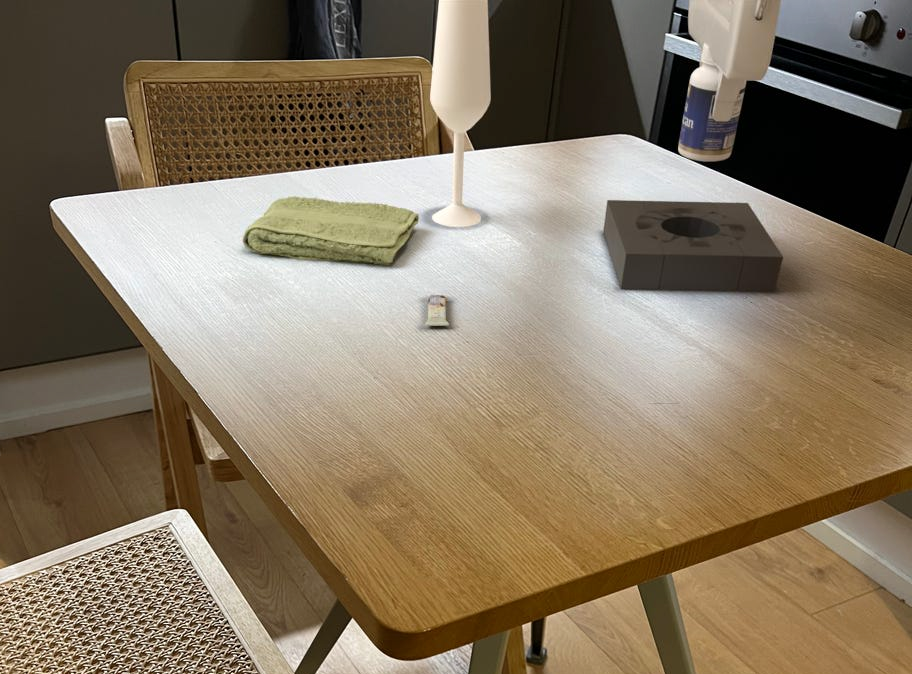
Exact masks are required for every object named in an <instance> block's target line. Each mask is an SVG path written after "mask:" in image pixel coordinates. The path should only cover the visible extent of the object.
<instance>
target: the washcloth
mask: <svg viewBox="0 0 912 674" xmlns="http://www.w3.org/2000/svg"><path fill="white" fill-rule="evenodd" d="M419 220H420V217H419V213H415V212H414V211H413V210H410V209H408V208H404V207H398V206H394V205H388V204H387V203H386V204H383V203H376V202H355V201H351V202H350V201H347V200H346V201H336V200H335V201H333V200H328V199H323V198H322V199H321V198H317V197H305V196H303V197H300V196H297V195H296V196H295V195H294V196H288V197H282V198H278V199H276V200H275V201H273V202H272V203H271V204H270V205H269V207H268V208H267V209H266V211H265V212H264V213H263V215H262V216H261V217H259V218H257V219H256V220H255V221H253V223H251V224H250V225H249V226H247V228H246V229H245V230H244V234H243V235H242V243H243V246H244V247H245V248H246V249H247V250H248V251H250V252H253V253H255V254H258V255H262V254H263V255H273V256H281V257H287V258H289V259H297V260H306V261H330V262H345V263H363V264H364V263H365V264H370V263H371V264H372V263H373V264H374V265H380V266H384V265H385V266H390V265H392V264H391V263H393V262H394V258H395V256H396V254H397V252H398V251H399V250H400V249H401V248H402V247H403V246H404V245H405V244H406V242H407V241H408V239H409V238H410V235H411V233H412V231H413V229H415V228H414V227H415V226H416V225H418V223H419Z"/></svg>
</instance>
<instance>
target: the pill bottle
mask: <svg viewBox="0 0 912 674" xmlns="http://www.w3.org/2000/svg"><path fill="white" fill-rule="evenodd" d="M701 61H702V62H703V64H702V67H700V66H699V67H697V68H696V69H694V70H693V72H692V73H691V75H690V78H689V83H688V89H687V94H686V99H685V106H684V111H683V116H682V121H681V128H680V134H679V140H678V146H677V147H678V148H677V150H678V153H679V155H681V156H682V157H684V158H687V159H688V160H693V161H697V162H720V161H725V160H726V159H728V158H730V156H731V155H732V151H733V148H734V143H735V139H736V134H737V129H738V124H739V119H740V114H741V111H742V105H743V100H744V95H745V91H746V85H747V81H744V82H743V85H742V88H741V90H740V92H739V94H738V96H737V99H736V101H735V103H734V108H733V113H732V117H731V119H730V120H729V121H715V120H714V119H713V118H712V116H711V113H710V112H711V108H712V101H713V97H715V96H716V92H717V88H718V84H719V80H718V77H719V72H720V70H719V69H718V68H717V66H716V65H715V64H714V63H713V62H712V60H711V59H710V58H709V56H708V46H707V45H706V44H705V43H704V45H703V50H702V55H701Z"/></svg>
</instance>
